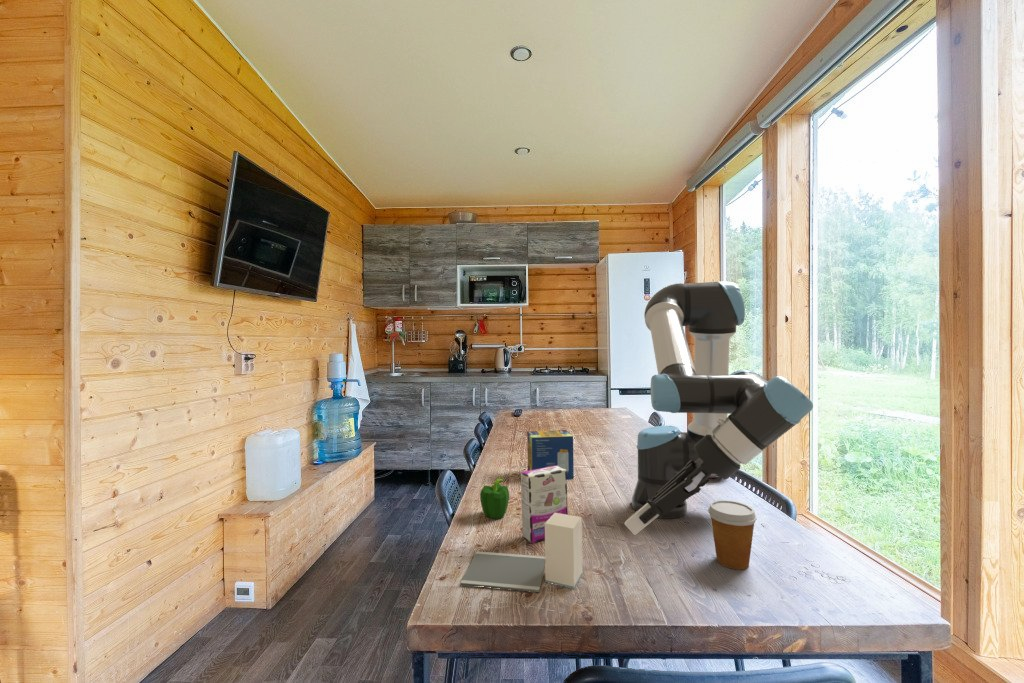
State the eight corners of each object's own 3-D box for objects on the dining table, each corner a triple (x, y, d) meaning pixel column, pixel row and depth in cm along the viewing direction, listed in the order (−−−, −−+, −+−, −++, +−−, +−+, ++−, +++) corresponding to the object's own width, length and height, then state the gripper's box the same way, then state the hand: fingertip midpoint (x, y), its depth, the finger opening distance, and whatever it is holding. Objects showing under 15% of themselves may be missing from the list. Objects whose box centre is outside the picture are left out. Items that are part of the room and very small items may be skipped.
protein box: (527, 472, 160) (526, 431, 160) (567, 470, 162) (566, 429, 162) (531, 481, 150) (530, 437, 150) (574, 479, 152) (573, 435, 152)
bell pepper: (486, 524, 115) (485, 487, 115) (476, 513, 123) (476, 478, 123) (514, 518, 119) (514, 482, 119) (503, 508, 126) (503, 474, 126)
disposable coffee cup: (756, 578, 87) (755, 519, 87) (705, 566, 92) (704, 510, 92) (758, 558, 95) (757, 504, 95) (711, 547, 100) (710, 496, 100)
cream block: (582, 574, 90) (581, 517, 90) (574, 589, 84) (573, 528, 84) (555, 568, 92) (554, 512, 92) (545, 582, 87) (544, 523, 87)
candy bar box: (557, 526, 113) (557, 464, 113) (568, 534, 108) (567, 469, 108) (520, 536, 108) (519, 471, 108) (530, 544, 103) (529, 476, 103)
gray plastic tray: (546, 559, 96) (545, 556, 96) (539, 592, 83) (539, 589, 83) (477, 554, 99) (476, 551, 99) (460, 585, 86) (460, 582, 86)
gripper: (708, 426, 83) (621, 500, 89) (709, 440, 71) (609, 525, 77) (740, 456, 80) (648, 530, 87) (746, 476, 68) (639, 560, 75)
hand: (630, 528), depth 82 cm, fingers closed
